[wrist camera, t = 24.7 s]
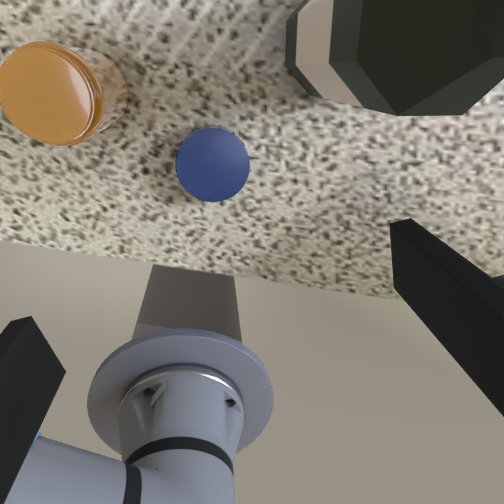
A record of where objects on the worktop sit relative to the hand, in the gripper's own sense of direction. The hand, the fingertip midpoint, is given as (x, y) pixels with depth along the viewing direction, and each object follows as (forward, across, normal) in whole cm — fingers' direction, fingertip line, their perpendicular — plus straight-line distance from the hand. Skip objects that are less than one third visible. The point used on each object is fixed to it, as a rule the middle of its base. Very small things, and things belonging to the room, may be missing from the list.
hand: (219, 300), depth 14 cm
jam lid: (+21, 0, 0) cm, 21 cm away
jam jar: (+23, -8, +8) cm, 25 cm away
